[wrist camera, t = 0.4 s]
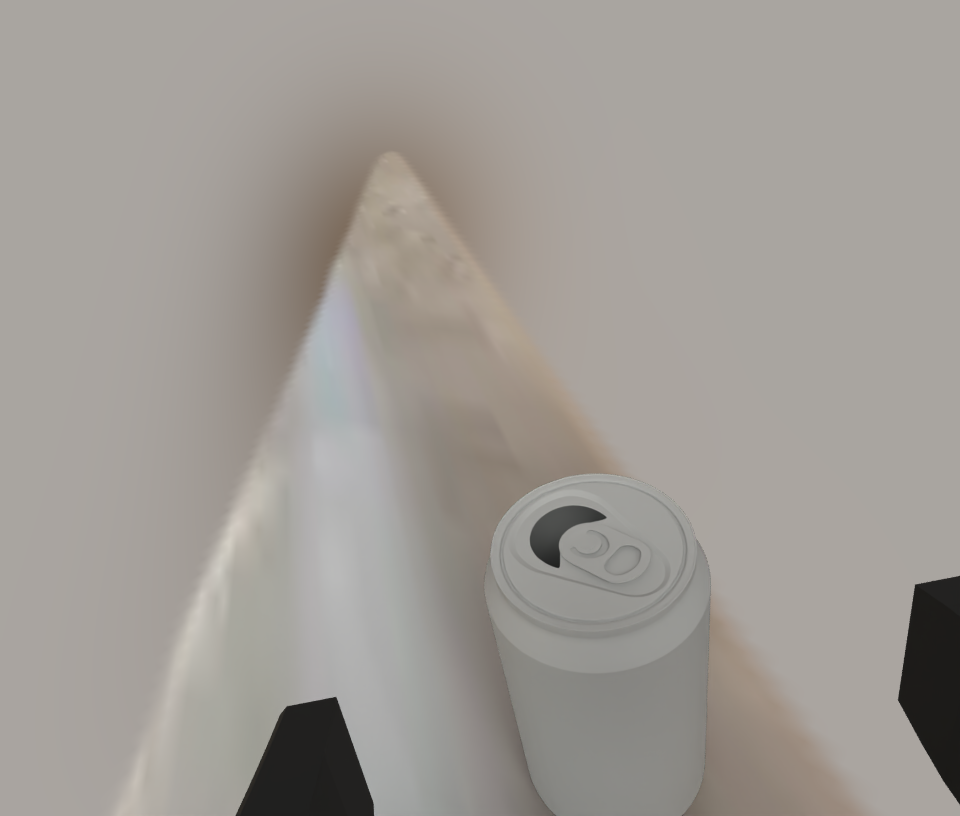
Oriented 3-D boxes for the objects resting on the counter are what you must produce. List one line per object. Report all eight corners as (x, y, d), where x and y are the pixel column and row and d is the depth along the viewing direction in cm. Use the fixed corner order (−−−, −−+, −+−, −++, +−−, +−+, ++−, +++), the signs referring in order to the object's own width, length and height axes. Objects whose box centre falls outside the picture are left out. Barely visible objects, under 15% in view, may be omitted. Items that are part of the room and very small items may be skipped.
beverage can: (596, 653, 32) (568, 435, 25) (739, 744, 28) (756, 517, 21) (494, 773, 29) (428, 563, 22) (640, 895, 25) (619, 688, 18)
